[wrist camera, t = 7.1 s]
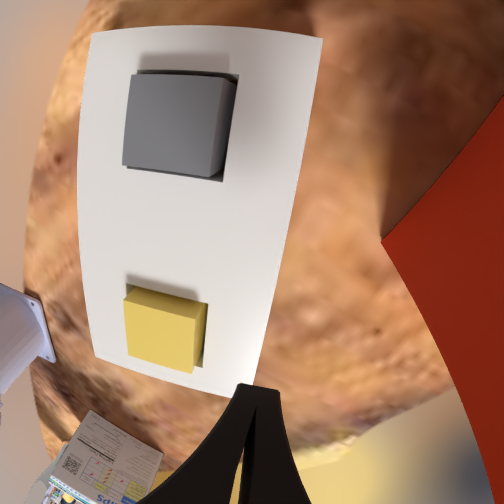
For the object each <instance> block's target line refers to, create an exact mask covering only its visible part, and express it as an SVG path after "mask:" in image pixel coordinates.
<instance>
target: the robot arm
mask: <svg viewBox="0 0 504 504" xmlns="http://www.w3.org/2000/svg"><path fill="white" fill-rule="evenodd" d="M37 356H40V357H42V358H44V359H46V360H48V361H50V362H52V363H55V362H56V357H55V354H54V350H53V347H52V344H51V340H50V337H49V333H48V329H47V325H46V322H45V318H44V313H43V309H42V305H41V303H40V301H39V300H37V299H35V298H33V297H30V296H28V295H26V294H23V293H21V292H19V291H17V290H14V289H12V288H10V287H8V286H5V285H3V284H1V283H0V398H1V396H2V395H3V394H4V393H5V392H6V390H7V389H8V388H9V387H10V386H11V385H12V383H13V382H14V381H15V380H16V379H17V378H18V377H19V375H20V374H21V373H22V372H23V371H24V370H25V369H26V368H27V367H28V365H29V364H30V363H31V362H32V361H33V360H34V359H35V358H36V357H37ZM2 405H3V403H2V402H1V400H0V408H1V407H2ZM0 426H1V413H0ZM243 449H244V455H243V464H242V473H241V483H240V491H239V500H238V504H311V502H310V500H309V498H308V495H307V493H306V491H305V488H304V486H303V484H302V482H301V479H300V476H299V474H298V471H297V468H296V465H295V462H294V459H293V456H292V453H291V449H290V446H289V442H288V438H287V434H286V430H285V426H284V420H283V415H282V409H281V400H280V392H279V391H278V390H275V389H270V388H264V387H259V386H254V385H249V384H244V383H239V384H237V387H236V390H235V392H234V394H233V396H232V398H231V400H230V402H229V404H228V406H227V408H226V409H225V411H224V413H223V414H222V416H221V417H220V419H219V420H218V422H217V423H216V425H215V426H214V427H213V429H212V430H211V432H210V433H209V434H208V436H207V437H206V438H205V439H204V440H203V442H202V443H201V444H200V445H199V447H198V448H197V449H196V450H195V451H194V452H193V454H192V455H191V456H190V457H189V458H188V459H187V460H186V461H185V462H184V463H183V464H182V465H181V466H180V467H179V468H178V469H177V470H176V471H175V472H174V473H173V474H172V475H171V476H170V477H168V478H167V479H166V480H165V481H164V482H163V483H162V484H161V485H159V486H158V487H157V488H156V489H154V490H153V491H152V492H150V493H149V494H148V495H146V496H145V497H144V498H142V499H141V500H139V501H138V502H137V503H135V504H229V502H230V498H231V493H232V488H233V483H234V479H235V474H236V470H237V467H238V464H239V461H240V458H241V455H242V452H243Z"/></svg>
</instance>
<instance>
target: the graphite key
mask: <svg viewBox="0 0 504 504" xmlns="http://www.w3.org/2000/svg"><path fill="white" fill-rule="evenodd" d="M236 89H237V86H236V85H235V84H233V83H231V82H230V81H228V80H226V79H225V78H220V77H208V76H192V75H165V74H134V75H131V80H130V87H129V94H128V102H127V111H126V120H125V130H124V141H123V154H122V165H123V166H132V167H140V168H148V169H156V170H163V171H171V172H178V173H184V174H191V175H198V176H204V177H210V176H212V175H213V174H215V173H217V172H218V171H220V170H222V169H223V168H224V167H225V160H226V153H227V147H228V140H229V133H230V127H231V120H232V114H233V107H234V101H235V95H236Z"/></svg>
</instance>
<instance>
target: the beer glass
mask: <svg viewBox="0 0 504 504" xmlns="http://www.w3.org/2000/svg"><path fill="white" fill-rule="evenodd" d="M68 443H69V441H68V440H64V441H63V443H62V445H61V448H60V451H59V453H58V455H57V457H56V458H55V460H54V461H53V462H52V463H51V464H50V466H49V467H48V468H47V469H46V470H45V471H44V472H43V473H42V474H41V475H40V476H39V477H38V479H37V480H36V481H35V483H34V485H33V486H32V488H31V490H30V492H29V494H28V496H27V499H26V501H25V503H24V504H75V503H76V500H75V499H74V498H72V497H71V496H69V495H67V494H66V493H64V492H62V491H61V490H59V489H58V488H56V487H55V486H53V485H51V484H50V483H49V479H50V476H51V474H52V472H53V470H54V468H55V466H56V464H57V462H58V461H59V459H60V457H61V455H62V454H63V452H64V450H65V448H66V447H67V445H68Z"/></svg>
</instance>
